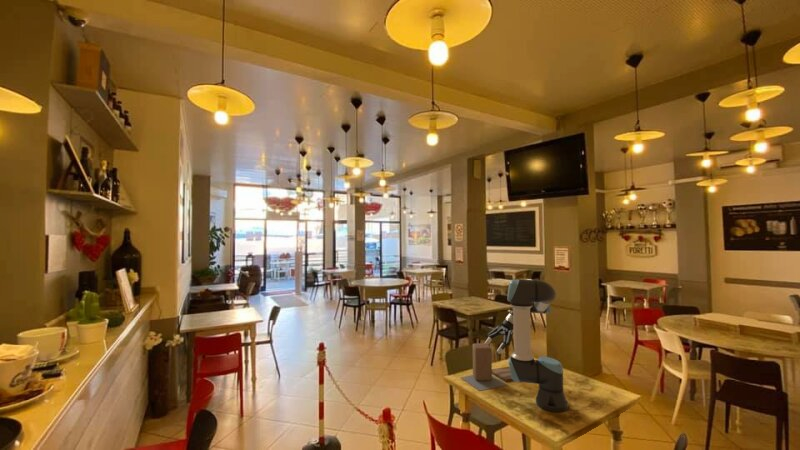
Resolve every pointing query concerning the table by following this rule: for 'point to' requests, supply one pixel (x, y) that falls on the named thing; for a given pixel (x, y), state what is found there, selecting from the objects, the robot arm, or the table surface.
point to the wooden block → (482, 362)
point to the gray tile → (483, 383)
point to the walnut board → (503, 373)
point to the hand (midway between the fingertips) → (491, 349)
